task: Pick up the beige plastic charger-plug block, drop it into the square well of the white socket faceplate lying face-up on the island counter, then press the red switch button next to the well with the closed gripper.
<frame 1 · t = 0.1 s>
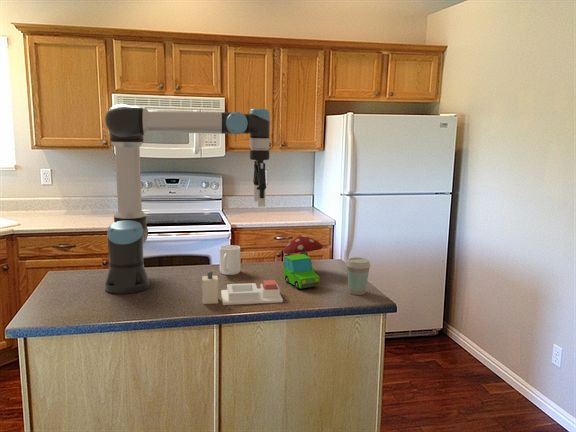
hand: (259, 203, 194), 28 cm above the table, fingers open, 13 cm apart
plug: (210, 301, 165), on the table
coffee cup: (356, 293, 176), on the table
mug: (228, 274, 196), on the table
toy car: (301, 285, 184), on the table
decorative mushroom: (302, 272, 201), on the table
switch: (270, 285, 170), point 4 cm above the table, slide at 0.0 cm
socket plate: (251, 297, 169), on the table
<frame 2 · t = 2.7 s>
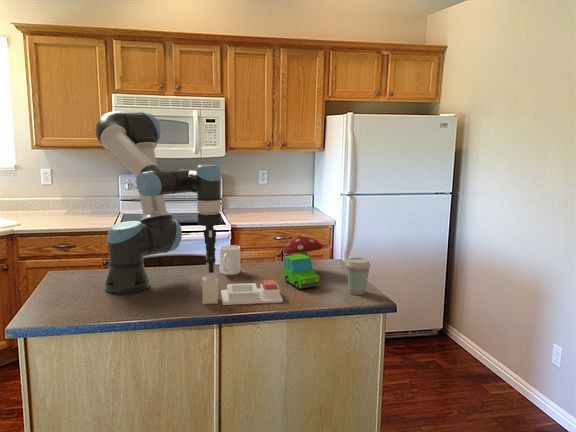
hand: (210, 276, 163), 9 cm above the table, fingers open, 13 cm apart
nothing on the table moved.
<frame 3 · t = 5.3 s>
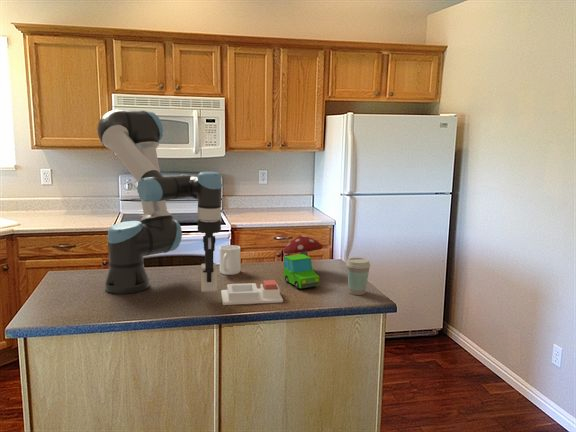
hand: (208, 287, 165), 4 cm above the table, fingers closed on plug, 5 cm apart
plug: (208, 288, 165), point 4 cm above the table, touching gripper
everything else where it was.
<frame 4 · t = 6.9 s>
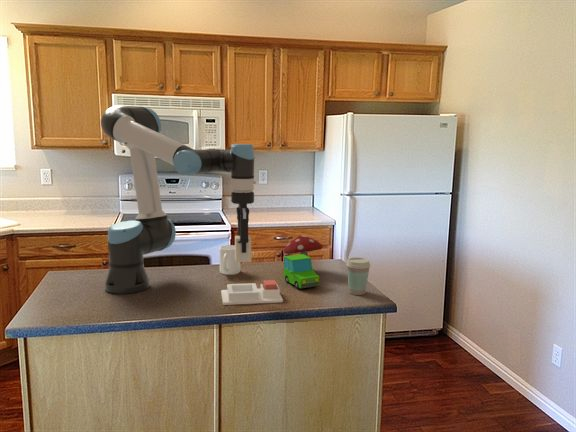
hand: (242, 259, 166), 14 cm above the table, fingers closed on plug, 5 cm apart
plug: (243, 260, 166), point 13 cm above the table, touching gripper
everything else where it was.
when the fingers open (5 cm above the table, at t = 8.7 s): plug drops 3 cm, resting on socket plate.
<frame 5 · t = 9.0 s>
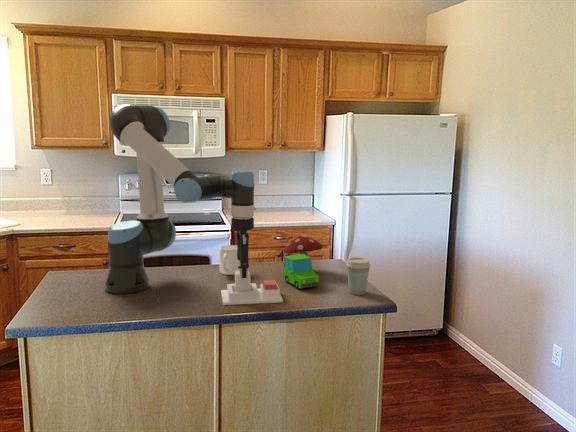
hand: (242, 282, 168), 5 cm above the table, fingers open, 8 cm apart
plug: (242, 295, 168), point 1 cm above the table, touching socket plate
everything else where it was.
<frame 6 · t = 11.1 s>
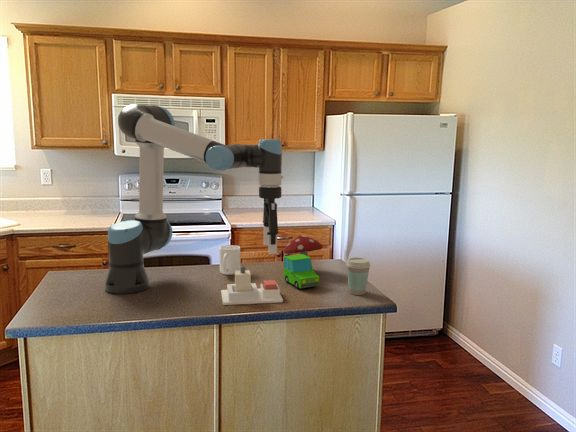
hand: (270, 249, 167), 17 cm above the table, fingers open, 12 cm apart
nothing on the table moved.
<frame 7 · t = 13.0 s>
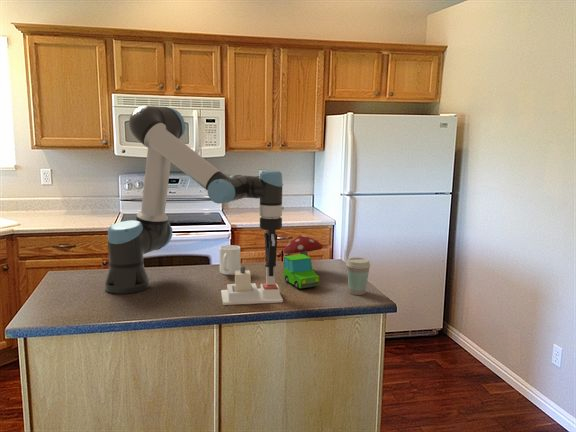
hand: (270, 284, 170), 4 cm above the table, fingers closed
switch: (270, 287, 170), point 3 cm above the table, slide at 0.9 cm
everything else where it was.
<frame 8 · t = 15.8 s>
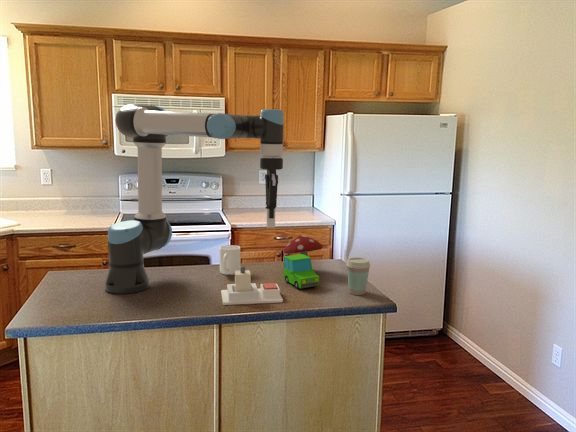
hand: (270, 227, 166), 24 cm above the table, fingers closed
nothing on the table moved.
at the end: plug 0.1 cm from the target spot on the socket plate, point 0.8 cm above the socket plate's base; plug tilted 0°; switch slide at 1.1 cm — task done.
